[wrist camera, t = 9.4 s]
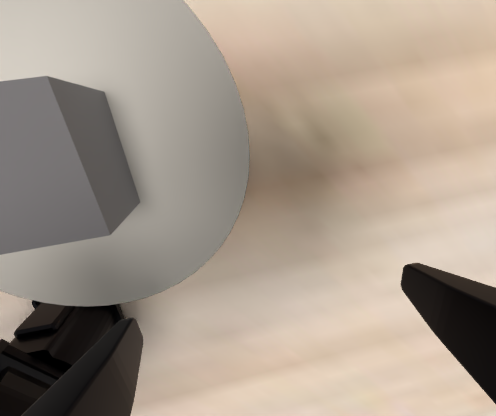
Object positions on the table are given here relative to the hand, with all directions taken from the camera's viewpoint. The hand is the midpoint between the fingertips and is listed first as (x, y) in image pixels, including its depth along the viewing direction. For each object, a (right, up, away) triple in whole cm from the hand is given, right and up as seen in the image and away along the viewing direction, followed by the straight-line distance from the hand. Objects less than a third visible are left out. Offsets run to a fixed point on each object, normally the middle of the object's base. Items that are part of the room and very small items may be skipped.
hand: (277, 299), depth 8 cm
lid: (-7, +5, 0) cm, 8 cm away
